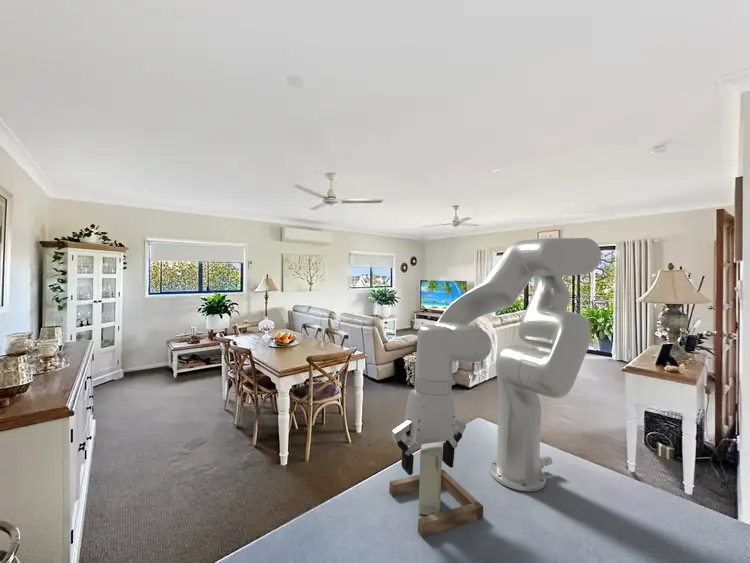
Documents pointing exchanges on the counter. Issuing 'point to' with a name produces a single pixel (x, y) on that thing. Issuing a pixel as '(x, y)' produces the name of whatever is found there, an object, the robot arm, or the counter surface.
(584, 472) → the counter surface
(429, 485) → the skincare box
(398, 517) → the counter surface
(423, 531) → the open wooden u frame
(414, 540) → the counter surface
